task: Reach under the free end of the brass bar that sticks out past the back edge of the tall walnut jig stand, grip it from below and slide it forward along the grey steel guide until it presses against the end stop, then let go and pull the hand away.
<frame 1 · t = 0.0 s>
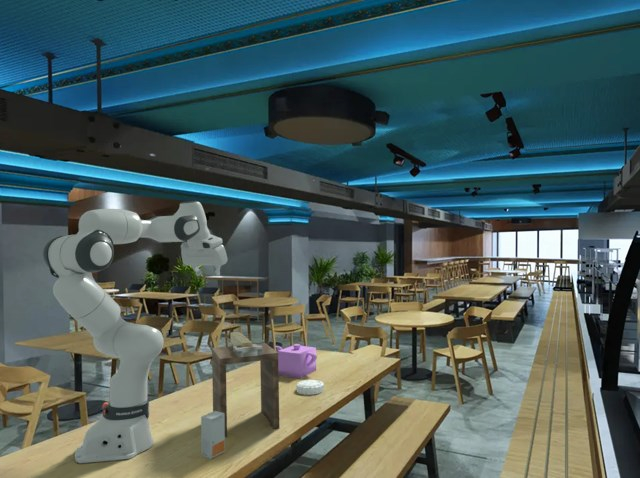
hand: (208, 275, 180), 52 cm above the table, tool tilted 20°, fingers open, 8 cm apart
jig stand: (245, 423, 164), on the table
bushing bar: (240, 346, 170), point 26 cm above the table, touching jig stand
mooncake: (310, 391, 201), on the table
teapot: (295, 372, 230), on the table
skincare box: (213, 454, 140), on the table
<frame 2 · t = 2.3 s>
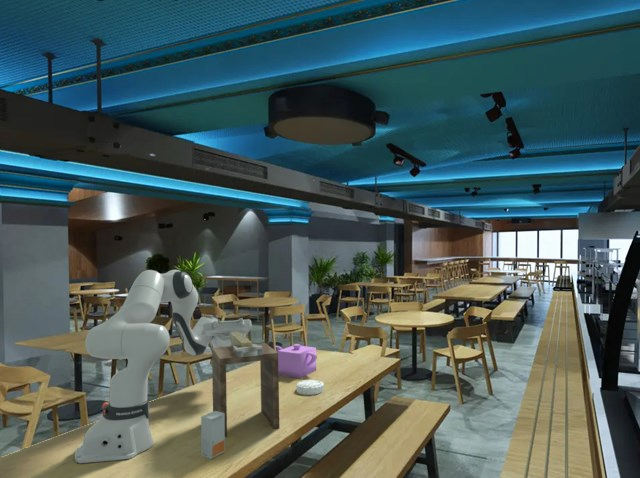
hand: (229, 320, 191), 33 cm above the table, tool pointing upward, fingers open, 8 cm apart
nothing on the table moved.
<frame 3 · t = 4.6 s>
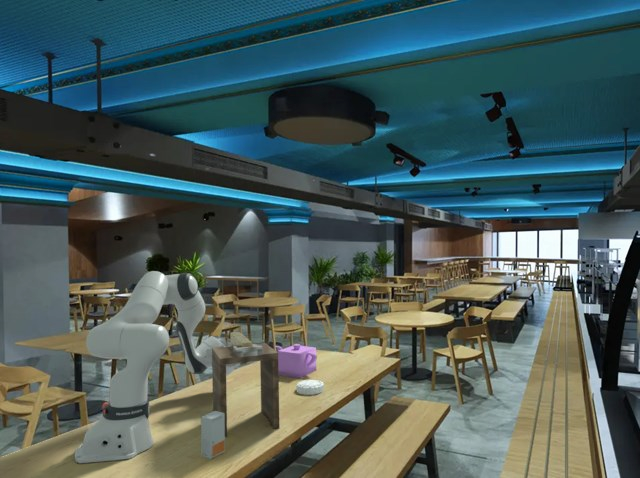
hand: (233, 346, 183), 24 cm above the table, tool pointing upward, fingers open, 8 cm apart
nothing on the table moved.
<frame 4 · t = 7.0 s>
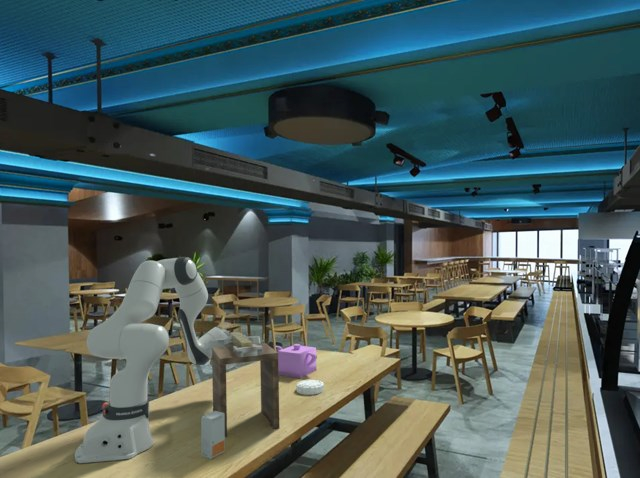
hand: (237, 337, 176), 28 cm above the table, tool pointing upward, fingers closed on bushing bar, 4 cm apart
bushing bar: (240, 346, 170), point 26 cm above the table, touching gripper, jig stand
everything else where it was.
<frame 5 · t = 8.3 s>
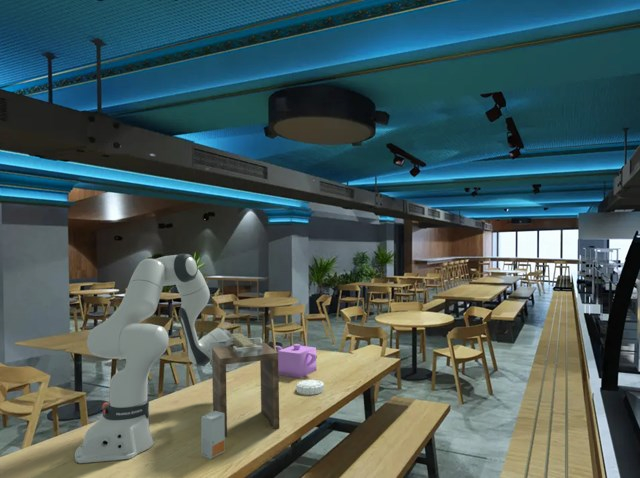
hand: (238, 339, 173), 28 cm above the table, tool pointing upward, fingers closed on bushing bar, 4 cm apart
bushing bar: (242, 348, 167), point 26 cm above the table, touching gripper
everything else where it was.
when the fingers open (28 cm above the table, at t = 9.8 s): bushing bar stays where it is, resting on jig stand.
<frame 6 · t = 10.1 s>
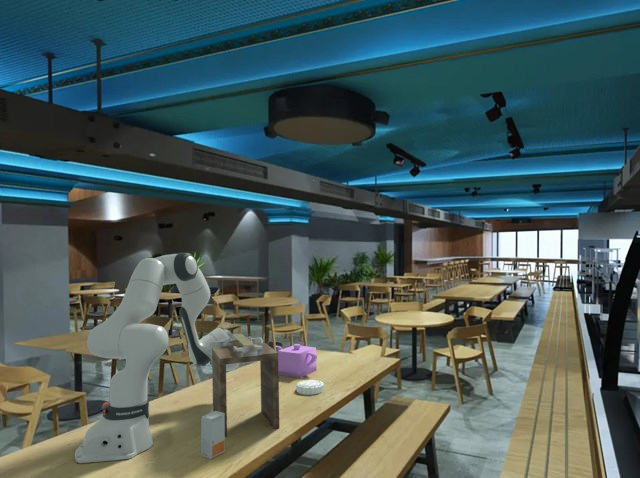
hand: (239, 339, 172), 28 cm above the table, tool pointing upward, fingers open, 6 cm apart
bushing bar: (242, 349, 166), point 26 cm above the table, touching jig stand
everything else where it was.
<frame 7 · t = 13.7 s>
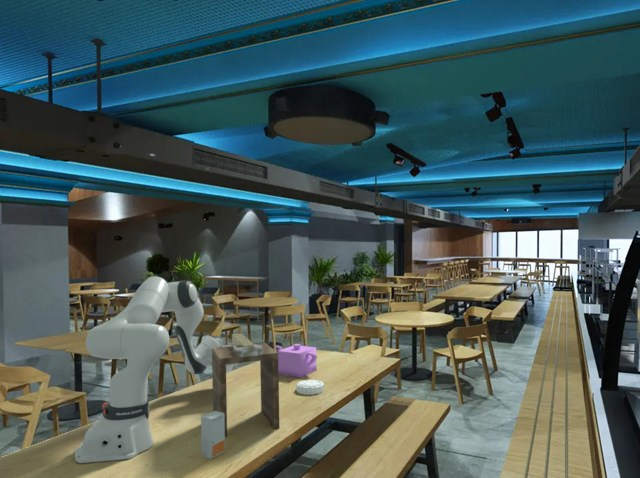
hand: (232, 346, 187), 23 cm above the table, tool pointing upward, fingers open, 8 cm apart
nothing on the table moved.
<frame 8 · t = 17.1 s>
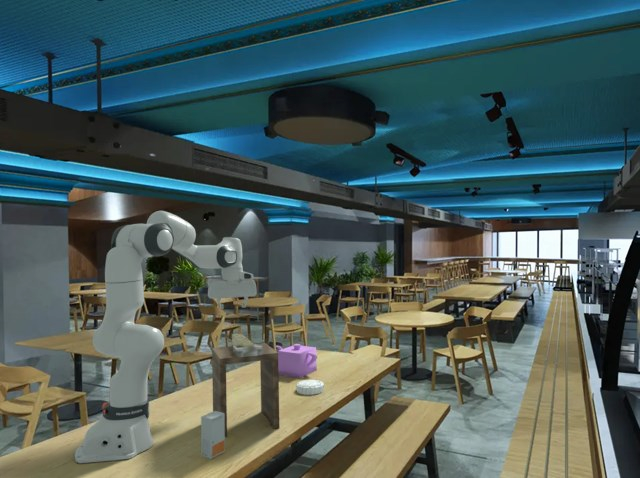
hand: (232, 308, 195), 37 cm above the table, tool pointing down, fingers open, 8 cm apart
nothing on the table moved.
at the end: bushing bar 0.1 cm from the target spot, point 26.0 cm above the table; the gripper is holding nothing; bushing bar touching jig stand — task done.
